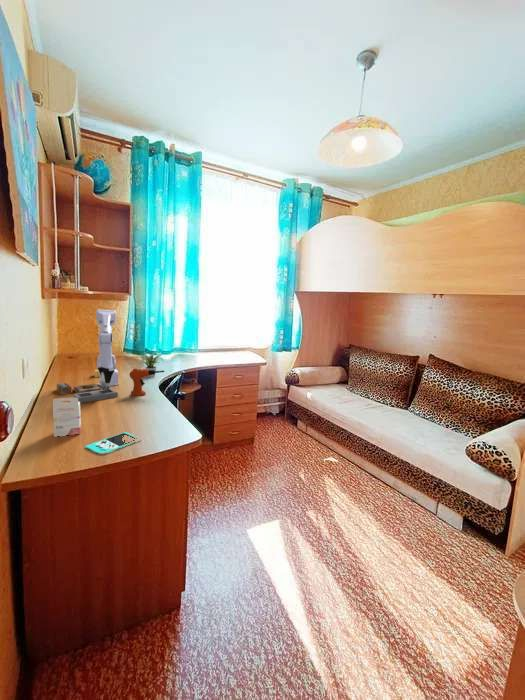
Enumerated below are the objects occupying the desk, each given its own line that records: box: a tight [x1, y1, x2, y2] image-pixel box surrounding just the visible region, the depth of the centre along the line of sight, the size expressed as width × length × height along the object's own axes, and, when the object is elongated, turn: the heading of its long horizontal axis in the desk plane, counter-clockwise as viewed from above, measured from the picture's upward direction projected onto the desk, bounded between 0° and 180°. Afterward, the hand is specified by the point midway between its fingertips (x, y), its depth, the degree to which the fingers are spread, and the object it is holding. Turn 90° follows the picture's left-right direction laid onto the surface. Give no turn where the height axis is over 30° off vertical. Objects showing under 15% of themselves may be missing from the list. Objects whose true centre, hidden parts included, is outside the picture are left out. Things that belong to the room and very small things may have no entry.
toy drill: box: [128, 368, 165, 397], centre depth 173 cm, size 5×19×15 cm, turn 100°
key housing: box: [56, 382, 72, 395], centre depth 169 cm, size 4×10×4 cm, turn 46°
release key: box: [58, 382, 68, 387], centre depth 170 cm, size 2×9×2 cm, turn 46°
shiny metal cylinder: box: [101, 372, 111, 390], centre depth 166 cm, size 4×4×9 cm
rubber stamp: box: [94, 369, 100, 378], centre depth 205 cm, size 10×6×12 cm, turn 117°
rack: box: [73, 388, 119, 404], centre depth 163 cm, size 18×8×2 cm, turn 136°
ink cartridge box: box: [52, 397, 82, 438], centre depth 120 cm, size 9×5×15 cm, turn 114°
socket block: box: [73, 383, 102, 394], centre depth 172 cm, size 10×10×2 cm
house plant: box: [142, 352, 160, 378], centre depth 211 cm, size 14×14×16 cm
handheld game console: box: [85, 431, 137, 453], centre depth 115 cm, size 10×16×1 cm, turn 148°
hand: (106, 381), depth 166 cm, fingers closed on shiny metal cylinder, 4 cm apart
